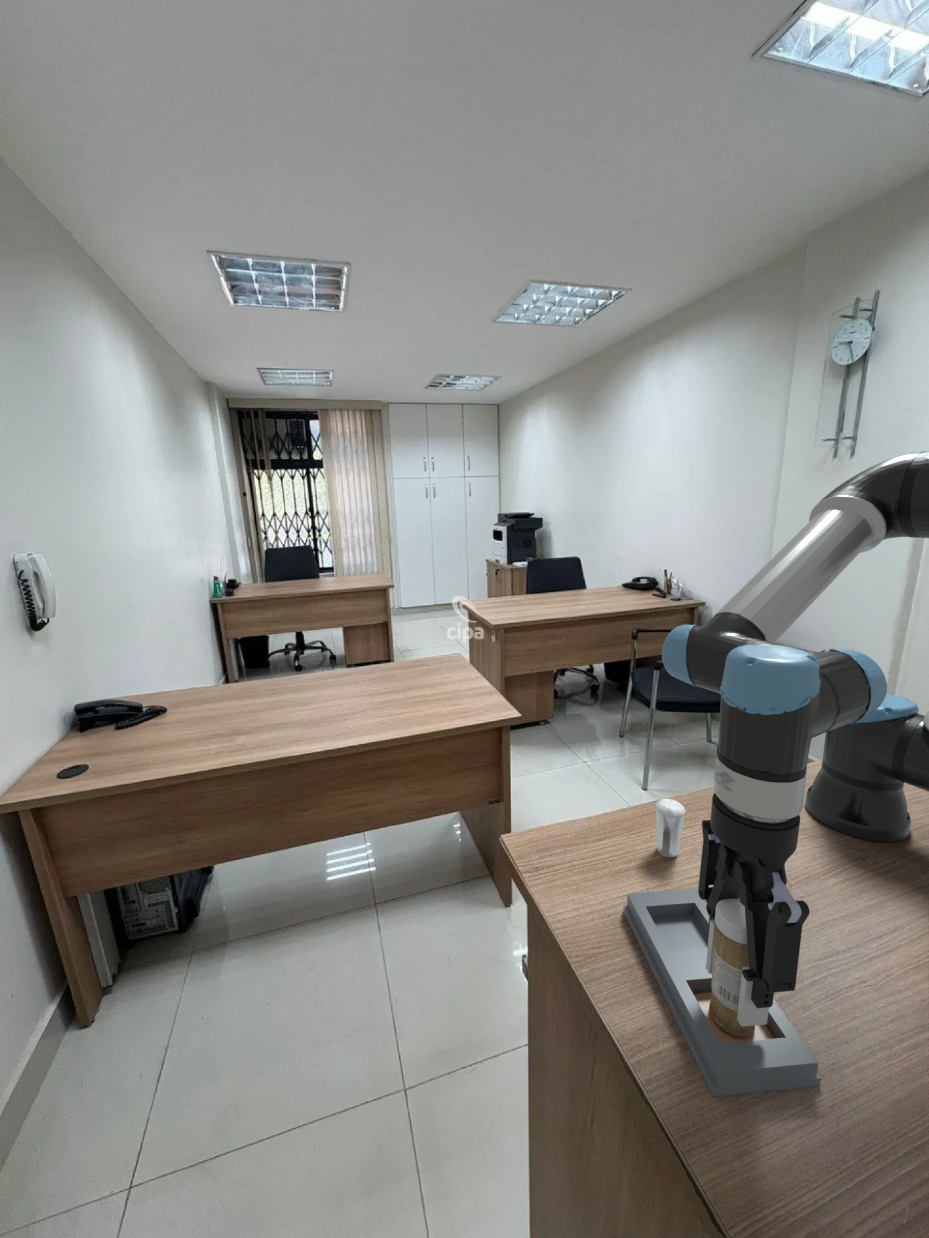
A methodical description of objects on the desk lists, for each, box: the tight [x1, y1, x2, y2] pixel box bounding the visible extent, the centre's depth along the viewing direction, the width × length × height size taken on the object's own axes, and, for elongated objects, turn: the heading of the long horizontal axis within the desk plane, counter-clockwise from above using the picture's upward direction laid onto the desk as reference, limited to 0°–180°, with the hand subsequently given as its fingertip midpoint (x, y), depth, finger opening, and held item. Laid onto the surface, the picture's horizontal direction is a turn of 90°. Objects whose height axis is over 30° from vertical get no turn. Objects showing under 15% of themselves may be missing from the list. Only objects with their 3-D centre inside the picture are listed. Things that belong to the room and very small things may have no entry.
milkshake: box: [655, 798, 692, 859], centre depth 82 cm, size 4×5×10 cm
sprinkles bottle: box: [709, 899, 755, 1037], centre depth 53 cm, size 5×5×13 cm
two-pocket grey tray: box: [622, 888, 822, 1098], centre depth 59 cm, size 11×23×3 cm, turn 4°
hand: (734, 994), depth 53 cm, fingers open, 5 cm apart
